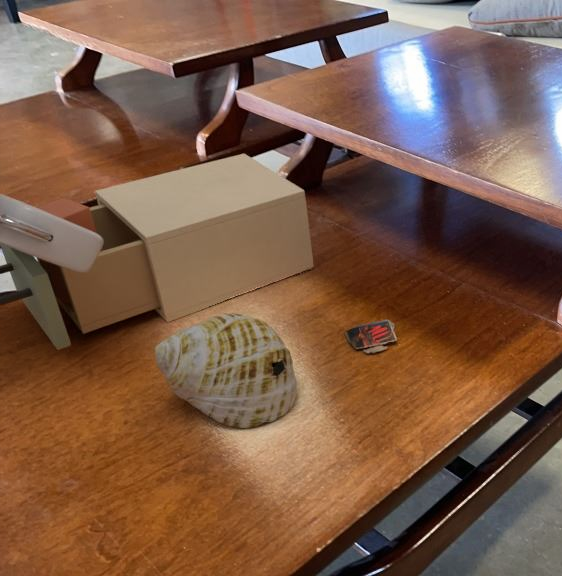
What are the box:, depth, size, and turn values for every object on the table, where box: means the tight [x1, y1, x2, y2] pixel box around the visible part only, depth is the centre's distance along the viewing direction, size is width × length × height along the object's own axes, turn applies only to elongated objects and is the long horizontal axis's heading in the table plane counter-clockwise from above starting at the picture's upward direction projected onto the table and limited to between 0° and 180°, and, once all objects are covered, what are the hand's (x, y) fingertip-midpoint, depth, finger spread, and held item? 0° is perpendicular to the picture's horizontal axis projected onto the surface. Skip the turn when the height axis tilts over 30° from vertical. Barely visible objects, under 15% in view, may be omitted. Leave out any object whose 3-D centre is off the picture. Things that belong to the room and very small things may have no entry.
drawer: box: [0, 204, 161, 351], centre depth 74 cm, size 20×12×8 cm, turn 133°
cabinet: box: [94, 153, 315, 323], centre depth 82 cm, size 17×14×10 cm
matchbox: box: [345, 319, 398, 355], centre depth 74 cm, size 5×5×1 cm
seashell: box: [154, 312, 298, 429], centre depth 64 cm, size 10×10×10 cm
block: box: [36, 197, 102, 304], centre depth 73 cm, size 4×4×9 cm
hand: (75, 247), depth 73 cm, fingers closed on block, 4 cm apart
